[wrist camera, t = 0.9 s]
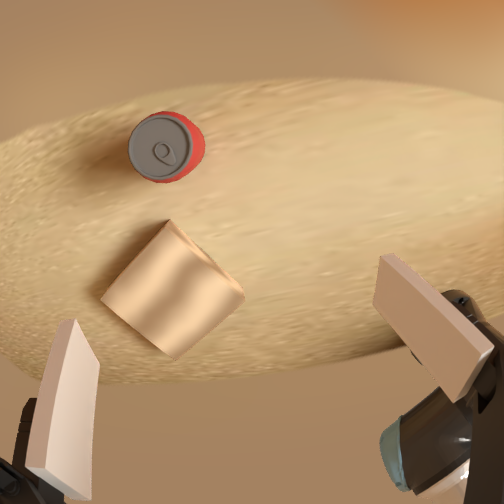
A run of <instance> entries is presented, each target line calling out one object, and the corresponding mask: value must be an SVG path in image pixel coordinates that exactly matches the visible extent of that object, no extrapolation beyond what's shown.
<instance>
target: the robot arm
mask: <svg viewBox="0 0 504 504" xmlns="http://www.w3.org/2000/svg"><path fill="white" fill-rule="evenodd" d="M373 306H374V307H375V308H376V309H377V311H378V312H379V313H380V314H381V315H382V316H383V318H384V319H385V320H386V321H387V322H388V323H389V325H390V326H391V327H392V328H393V329H394V331H395V332H396V333H397V334H398V335H399V337H400V338H401V339H402V340H403V341H404V343H405V344H406V345H407V346H408V347H409V349H410V350H411V353H412V355H413V356H414V357H415V358H416V360H417V361H418V362H419V363H420V364H421V365H423V366H424V367H425V368H426V369H427V371H428V372H429V373H430V375H431V376H432V377H433V378H434V380H435V381H436V382H437V383H438V384H439V387H437V388H436V389H435V390H434V391H433V392H432V393H431V394H430V395H428V396H427V397H426V398H425V399H423V400H422V401H421V402H420V403H418V404H417V405H416V406H415V407H413V408H412V409H411V410H410V411H408V412H407V413H406V414H404V415H401V416H400V417H399V418H398V420H396V421H395V422H394V423H393V424H392V425H390V426H389V427H388V428H387V429H385V430H384V431H383V433H382V434H381V437H380V451H381V456H382V459H383V462H384V465H385V467H386V470H387V472H388V474H389V476H390V478H391V480H392V481H393V482H394V483H395V485H396V487H397V488H398V489H399V490H400V491H402V492H406V491H410V490H411V489H412V490H413V492H414V493H415V495H416V496H417V497H421V498H428V499H430V500H431V501H432V502H433V504H504V336H503V335H502V334H501V333H500V332H499V331H497V330H496V329H495V328H494V327H492V326H491V325H490V324H489V323H488V322H487V321H486V320H485V318H484V316H483V314H482V312H481V311H480V309H479V307H478V305H477V304H476V302H475V301H474V299H473V298H472V297H470V296H469V295H468V294H466V293H465V292H463V291H461V290H451V291H448V292H445V293H443V294H440V293H439V292H438V291H437V290H436V289H435V288H433V287H432V286H431V285H430V284H429V283H428V282H427V281H426V280H424V279H423V278H422V277H421V276H420V275H419V274H418V273H416V272H415V271H414V270H413V269H412V268H411V267H409V266H408V265H407V264H406V263H405V262H404V261H402V260H401V259H400V258H399V257H398V256H396V255H395V254H394V253H391V254H387V255H383V256H380V261H379V268H378V275H377V281H376V287H375V293H374V299H373ZM99 368H100V364H99V362H98V360H97V358H96V356H95V355H94V353H93V351H92V349H91V347H90V346H89V344H88V342H87V340H86V338H85V336H84V334H83V332H82V330H81V328H80V326H79V324H78V322H77V320H76V318H74V319H68V320H62V321H60V322H59V325H58V328H57V331H56V334H55V337H54V341H53V344H52V347H51V350H50V353H49V357H48V360H47V364H46V367H45V371H44V374H43V378H42V382H41V386H40V390H39V394H38V398H29V400H28V402H27V403H26V405H25V406H24V408H23V411H22V415H21V420H20V421H21V423H20V424H19V429H18V431H19V433H17V438H16V444H15V450H14V455H13V461H12V465H10V464H9V463H8V462H7V461H5V460H4V459H2V458H0V504H66V503H65V502H64V495H66V496H68V497H69V498H71V499H72V500H86V501H91V468H92V466H91V465H92V441H93V426H94V413H95V402H96V393H97V384H98V376H99Z"/></svg>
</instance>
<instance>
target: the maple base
mask: <svg viewBox="0 0 504 504" xmlns="http://www.w3.org/2000/svg"><path fill="white" fill-rule="evenodd" d="M100 300H101V301H102V302H103V303H104V304H105V305H107V306H108V307H109V308H110V309H111V310H112V311H114V312H115V313H116V314H117V315H118V316H119V317H121V318H122V319H123V320H124V321H125V322H127V323H128V324H129V325H130V326H131V327H133V328H134V329H135V330H136V331H138V332H139V333H140V334H141V335H143V336H144V337H145V338H146V339H148V340H149V341H150V342H152V343H153V344H154V345H155V346H157V347H158V348H159V349H161V350H162V351H163V352H165V353H166V354H167V355H169V356H170V357H171V358H173V359H174V360H175V361H176V360H177V359H179V358H180V357H181V356H182V355H183V354H185V353H186V352H187V351H188V350H189V349H190V348H192V347H193V346H194V345H195V344H196V343H198V342H199V341H200V340H201V339H202V338H203V337H205V336H206V335H207V334H208V333H209V332H210V331H212V330H213V329H214V328H215V327H216V326H217V325H219V324H220V323H221V322H222V321H223V320H224V319H225V318H227V317H228V316H229V315H230V314H231V313H232V312H234V311H235V310H236V309H237V308H238V307H239V306H240V305H242V304H243V303H244V302H245V298H244V292H243V287H242V286H241V285H240V284H239V283H237V282H236V281H235V280H234V279H233V278H232V277H231V276H230V275H229V274H228V273H227V272H226V271H224V270H223V269H222V268H221V267H220V266H219V265H218V264H217V263H216V262H215V261H214V260H213V259H211V258H210V257H209V256H208V255H207V254H206V253H205V252H204V251H203V250H202V249H201V248H200V247H199V246H198V245H197V244H195V243H194V242H193V241H192V240H191V239H190V238H189V237H188V236H187V235H186V234H185V233H184V232H183V231H182V230H181V229H180V228H179V227H178V226H177V225H175V224H174V223H173V222H172V221H171V220H169V221H168V222H167V223H166V224H165V225H164V226H163V227H162V228H161V229H160V230H159V231H158V232H157V233H156V235H155V236H154V237H153V238H152V239H151V240H150V241H149V242H148V243H147V244H146V245H145V246H144V247H143V249H142V250H141V251H140V252H139V253H138V254H137V255H136V256H135V257H134V259H133V260H132V261H131V262H130V263H129V264H128V265H127V266H126V268H125V269H124V270H123V271H122V272H121V273H120V274H119V275H118V277H117V278H116V279H115V280H114V281H113V282H112V284H111V285H110V286H109V287H108V289H107V290H106V292H105V293H104V294H103V296H102V297H101V299H100Z"/></svg>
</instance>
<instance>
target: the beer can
mask: <svg viewBox="0 0 504 504" xmlns="http://www.w3.org/2000/svg"><path fill="white" fill-rule="evenodd" d="M204 153H205V141H204V136H203V134H202V133H201V131H200V129H199V128H198V127H197V126H196V125H194V124H193V123H192V122H191V121H190V120H189V119H187V118H186V117H185V116H183V115H181V114H178V113H175V112H167V111H162V112H158V113H155V114H151V115H150V116H148V117H147V118H145V119H144V120H142V121H141V122H140V123H139V124H138V125H137V126H136V128H135V129H134V130H133V131H132V134H131V136H130V139H129V142H128V155H129V159H130V162H131V164H132V165H133V167H134V168H135V170H136V171H137V172H138V173H139V174H141V175H142V176H143V177H144V178H145V179H148V180H150V181H153V182H156V183H170V182H173V181H177V180H179V179H181V178H182V177H184V176H186V175H187V174H188V173H190V172H191V171H192V170H193V169H194V168H195V167H196V166H197V165H198V164H199V163H200V162H201V160H202V158H203V155H204Z"/></svg>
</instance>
